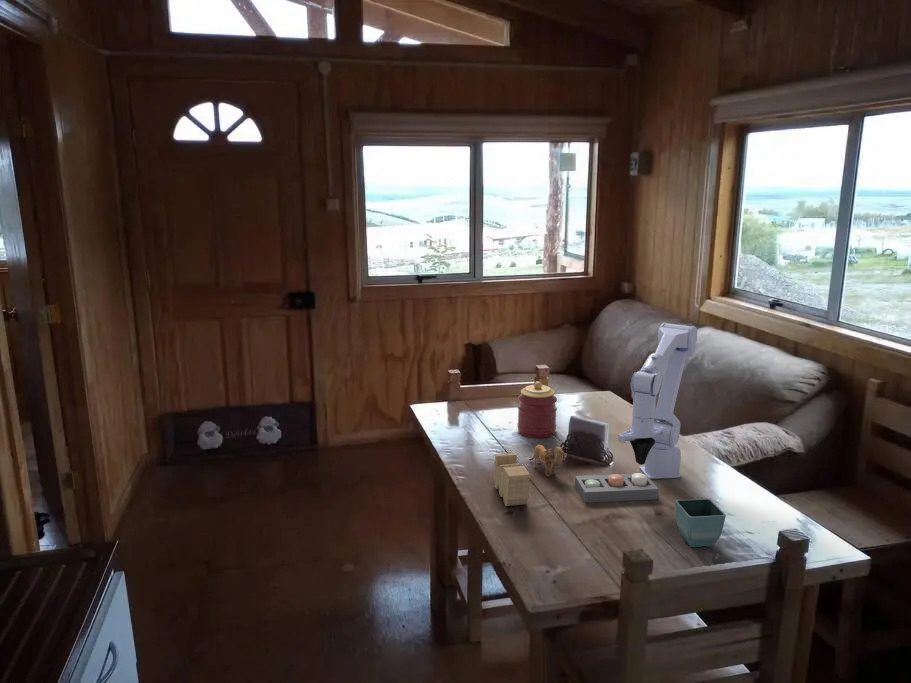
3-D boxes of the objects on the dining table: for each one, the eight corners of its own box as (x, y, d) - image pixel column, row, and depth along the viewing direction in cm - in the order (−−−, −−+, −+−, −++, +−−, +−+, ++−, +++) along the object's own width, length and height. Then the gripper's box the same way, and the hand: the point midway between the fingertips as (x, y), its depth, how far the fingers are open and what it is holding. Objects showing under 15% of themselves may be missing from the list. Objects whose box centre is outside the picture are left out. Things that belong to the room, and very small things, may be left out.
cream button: (643, 482, 190) (643, 472, 189) (648, 489, 186) (649, 479, 186) (629, 483, 190) (629, 473, 189) (634, 490, 186) (634, 479, 185)
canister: (562, 429, 234) (564, 379, 230) (545, 441, 223) (547, 389, 219) (527, 422, 241) (529, 373, 237) (510, 433, 230) (511, 383, 226)
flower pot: (671, 533, 167) (674, 499, 164) (706, 531, 167) (709, 497, 165) (686, 552, 158) (689, 517, 156) (723, 550, 159) (726, 515, 157)
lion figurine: (568, 476, 198) (569, 447, 195) (554, 481, 195) (555, 451, 193) (535, 459, 209) (536, 431, 207) (521, 463, 207) (522, 435, 204)
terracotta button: (620, 483, 190) (621, 473, 189) (625, 490, 186) (625, 480, 185) (606, 484, 189) (606, 474, 188) (610, 491, 185) (611, 480, 185)
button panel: (644, 482, 193) (644, 473, 193) (657, 499, 184) (658, 488, 183) (574, 485, 192) (575, 476, 191) (584, 502, 182) (585, 492, 181)
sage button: (597, 489, 189) (597, 479, 189) (601, 495, 185) (602, 485, 185) (582, 489, 189) (583, 479, 188) (586, 496, 185) (587, 486, 184)
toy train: (511, 482, 194) (512, 449, 192) (529, 510, 178) (530, 474, 176) (492, 483, 193) (493, 450, 191) (508, 512, 177) (509, 476, 175)
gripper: (655, 407, 190) (651, 453, 193) (611, 414, 184) (609, 462, 187) (672, 415, 183) (669, 462, 187) (628, 423, 177) (625, 472, 181)
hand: (640, 463), depth 186 cm, fingers closed
